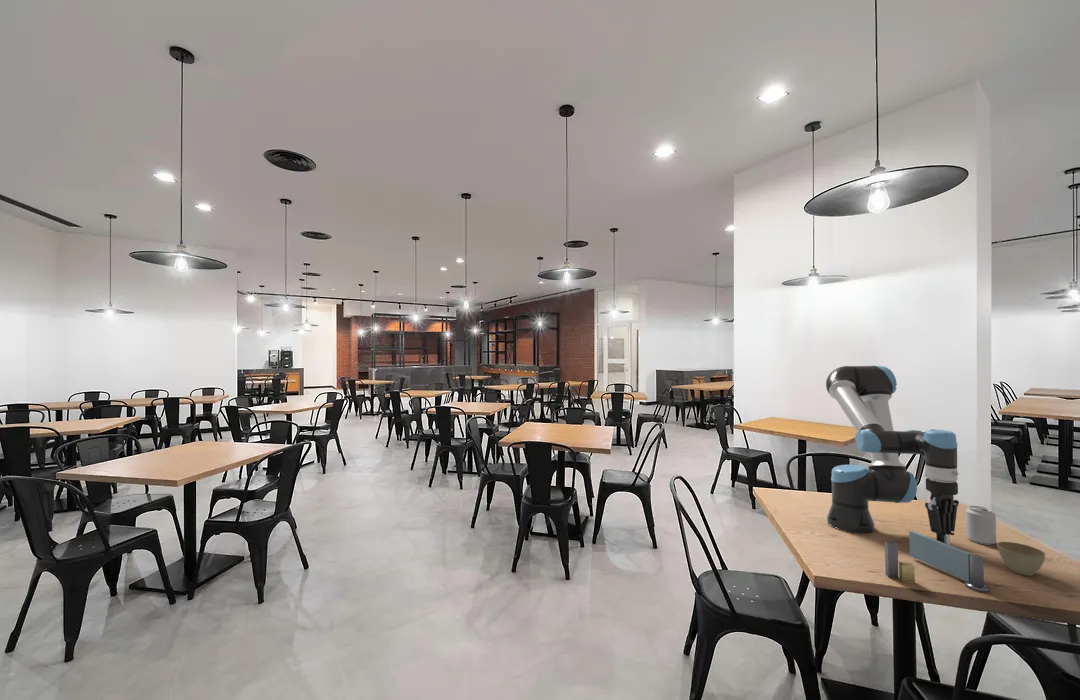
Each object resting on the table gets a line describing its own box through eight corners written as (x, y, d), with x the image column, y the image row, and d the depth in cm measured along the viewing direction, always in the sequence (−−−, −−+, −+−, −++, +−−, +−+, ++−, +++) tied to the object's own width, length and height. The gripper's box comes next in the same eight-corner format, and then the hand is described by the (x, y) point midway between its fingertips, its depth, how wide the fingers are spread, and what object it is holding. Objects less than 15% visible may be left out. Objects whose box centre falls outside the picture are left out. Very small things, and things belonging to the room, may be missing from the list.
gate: (986, 586, 122) (986, 558, 123) (978, 587, 122) (978, 559, 122) (915, 555, 142) (914, 530, 142) (908, 556, 142) (907, 531, 142)
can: (1002, 546, 150) (1001, 512, 150) (977, 545, 152) (976, 510, 152) (985, 538, 158) (984, 504, 158) (961, 536, 159) (960, 503, 159)
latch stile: (891, 580, 128) (890, 546, 128) (885, 573, 132) (884, 540, 132) (914, 583, 126) (914, 549, 126) (908, 576, 130) (907, 543, 130)
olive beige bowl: (988, 564, 137) (987, 542, 137) (1016, 563, 138) (1015, 540, 138) (1026, 580, 127) (1025, 556, 127) (1056, 579, 128) (1055, 554, 128)
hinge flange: (965, 588, 123) (965, 585, 123) (964, 581, 127) (964, 579, 127) (990, 594, 120) (990, 591, 120) (988, 587, 124) (988, 584, 124)
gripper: (942, 485, 131) (945, 563, 130) (968, 480, 135) (971, 556, 135) (914, 478, 138) (916, 552, 138) (940, 474, 142) (942, 546, 142)
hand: (943, 554), depth 136 cm, fingers closed
